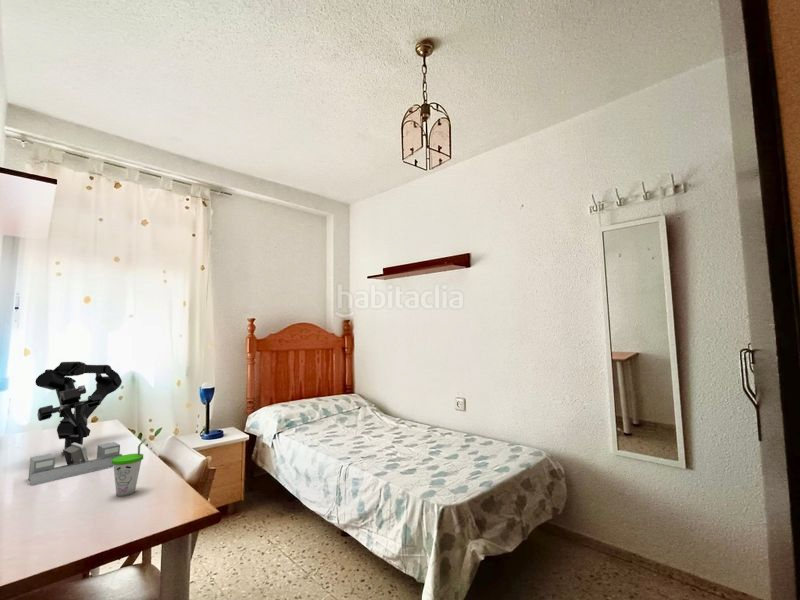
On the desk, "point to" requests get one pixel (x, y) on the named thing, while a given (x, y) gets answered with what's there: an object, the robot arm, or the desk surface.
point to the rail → (71, 470)
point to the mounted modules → (49, 460)
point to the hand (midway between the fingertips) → (77, 425)
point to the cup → (127, 472)
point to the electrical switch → (75, 454)
